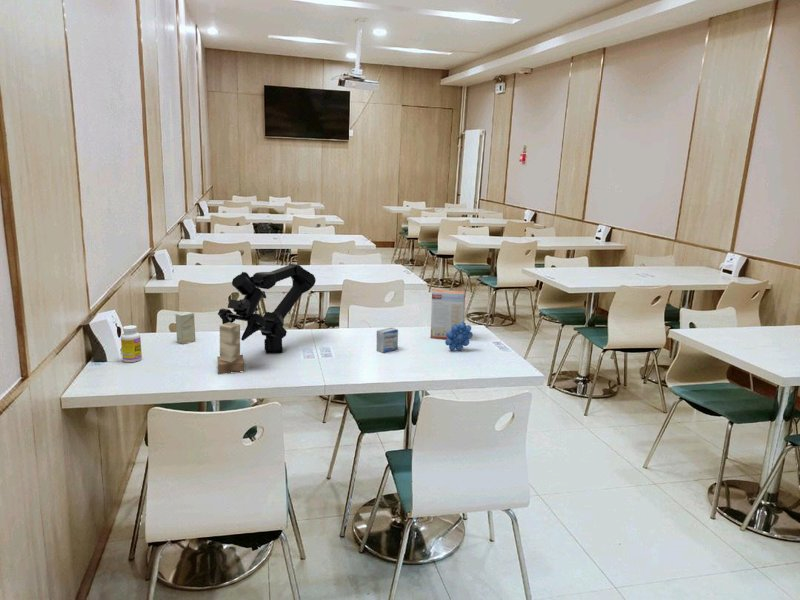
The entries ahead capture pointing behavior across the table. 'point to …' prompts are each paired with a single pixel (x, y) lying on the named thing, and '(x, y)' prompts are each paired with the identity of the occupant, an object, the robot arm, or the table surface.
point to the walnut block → (230, 365)
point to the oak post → (229, 342)
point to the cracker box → (446, 311)
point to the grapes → (459, 336)
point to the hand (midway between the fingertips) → (232, 338)
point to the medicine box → (387, 340)
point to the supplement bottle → (131, 344)
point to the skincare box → (185, 327)
